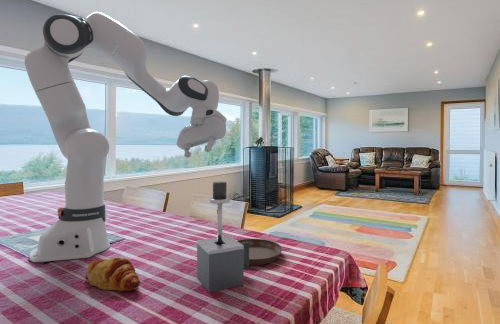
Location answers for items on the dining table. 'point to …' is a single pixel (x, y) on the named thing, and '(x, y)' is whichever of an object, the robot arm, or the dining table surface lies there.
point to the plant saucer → (262, 251)
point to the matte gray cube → (221, 263)
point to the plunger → (219, 204)
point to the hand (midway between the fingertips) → (197, 153)
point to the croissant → (113, 274)
